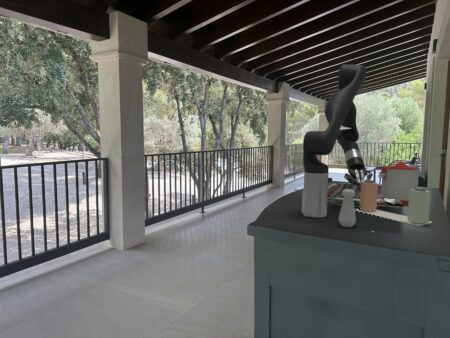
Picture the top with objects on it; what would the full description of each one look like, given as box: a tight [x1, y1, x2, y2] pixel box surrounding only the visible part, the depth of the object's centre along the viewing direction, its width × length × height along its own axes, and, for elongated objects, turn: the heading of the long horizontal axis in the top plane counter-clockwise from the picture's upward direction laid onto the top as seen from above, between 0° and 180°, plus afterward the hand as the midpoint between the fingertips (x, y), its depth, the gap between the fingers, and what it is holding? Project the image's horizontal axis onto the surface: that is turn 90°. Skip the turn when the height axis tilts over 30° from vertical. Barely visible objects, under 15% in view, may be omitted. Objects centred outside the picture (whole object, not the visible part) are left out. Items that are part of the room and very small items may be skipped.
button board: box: [355, 208, 433, 227], centre depth 136 cm, size 28×9×1 cm, turn 33°
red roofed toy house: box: [377, 160, 420, 206], centre depth 161 cm, size 16×17×20 cm
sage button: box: [407, 187, 432, 225], centre depth 124 cm, size 5×5×12 cm
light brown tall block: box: [359, 179, 379, 211], centre depth 143 cm, size 5×5×12 cm
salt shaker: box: [338, 188, 357, 228], centre depth 121 cm, size 6×6×13 cm
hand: (362, 191), depth 150 cm, fingers closed
